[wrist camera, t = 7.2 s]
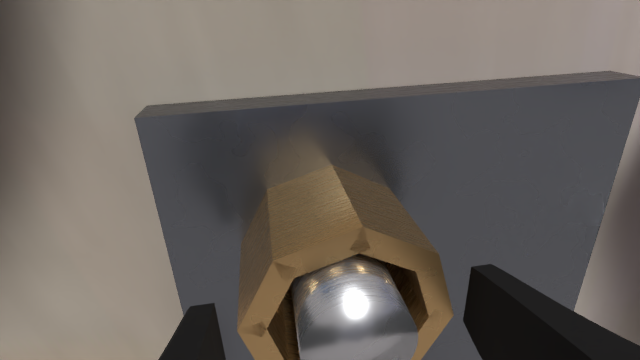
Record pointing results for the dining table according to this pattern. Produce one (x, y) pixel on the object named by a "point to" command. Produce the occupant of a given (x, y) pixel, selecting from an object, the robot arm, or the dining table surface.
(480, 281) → the robot arm
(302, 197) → the wooden octagonal tube
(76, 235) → the dining table surface
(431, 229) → the plate
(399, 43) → the dining table surface
